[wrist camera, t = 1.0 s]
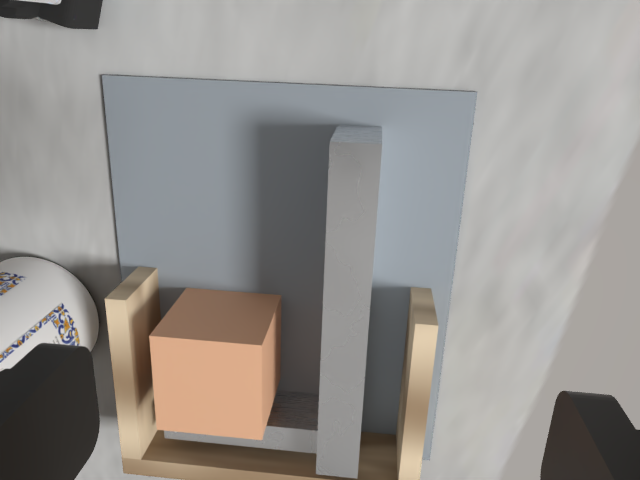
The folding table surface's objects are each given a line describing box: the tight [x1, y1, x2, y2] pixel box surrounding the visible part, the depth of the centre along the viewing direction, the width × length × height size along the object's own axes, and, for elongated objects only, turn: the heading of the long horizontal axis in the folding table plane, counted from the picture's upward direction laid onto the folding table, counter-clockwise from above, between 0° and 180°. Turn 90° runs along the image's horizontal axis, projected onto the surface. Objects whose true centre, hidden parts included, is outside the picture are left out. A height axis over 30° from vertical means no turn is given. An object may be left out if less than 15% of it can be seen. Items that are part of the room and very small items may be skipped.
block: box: [149, 288, 281, 440], centre depth 27 cm, size 5×5×5 cm
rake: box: [164, 125, 382, 479], centre depth 26 cm, size 16×10×4 cm, turn 178°
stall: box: [105, 267, 439, 480], centre depth 28 cm, size 10×15×4 cm, turn 88°
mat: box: [102, 75, 477, 460], centre depth 28 cm, size 20×17×1 cm
